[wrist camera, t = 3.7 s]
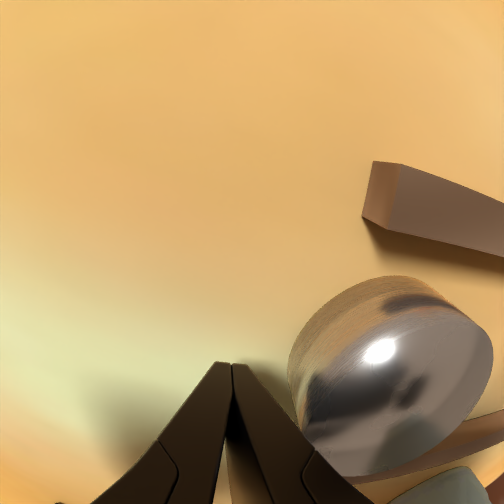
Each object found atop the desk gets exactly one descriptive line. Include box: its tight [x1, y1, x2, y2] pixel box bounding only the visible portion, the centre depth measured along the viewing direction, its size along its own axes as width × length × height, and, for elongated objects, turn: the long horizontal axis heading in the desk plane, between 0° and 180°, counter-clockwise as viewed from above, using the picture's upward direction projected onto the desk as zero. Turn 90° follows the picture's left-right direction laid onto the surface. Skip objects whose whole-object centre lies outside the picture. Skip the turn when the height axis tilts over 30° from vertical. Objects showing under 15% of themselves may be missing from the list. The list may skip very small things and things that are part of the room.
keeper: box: [287, 276, 493, 477], centre depth 8 cm, size 6×6×3 cm
